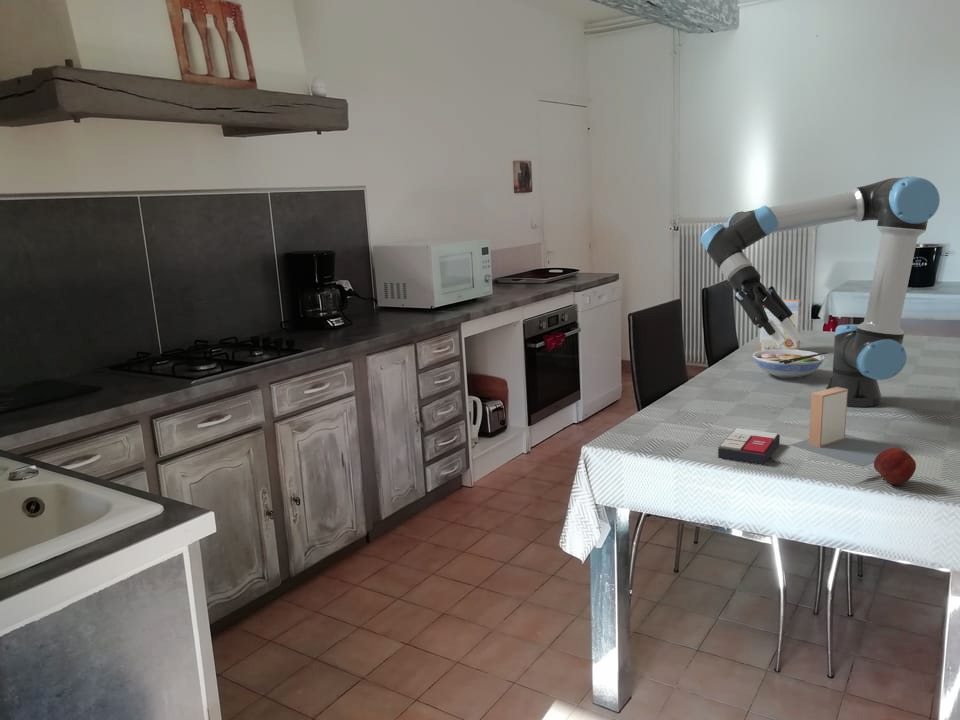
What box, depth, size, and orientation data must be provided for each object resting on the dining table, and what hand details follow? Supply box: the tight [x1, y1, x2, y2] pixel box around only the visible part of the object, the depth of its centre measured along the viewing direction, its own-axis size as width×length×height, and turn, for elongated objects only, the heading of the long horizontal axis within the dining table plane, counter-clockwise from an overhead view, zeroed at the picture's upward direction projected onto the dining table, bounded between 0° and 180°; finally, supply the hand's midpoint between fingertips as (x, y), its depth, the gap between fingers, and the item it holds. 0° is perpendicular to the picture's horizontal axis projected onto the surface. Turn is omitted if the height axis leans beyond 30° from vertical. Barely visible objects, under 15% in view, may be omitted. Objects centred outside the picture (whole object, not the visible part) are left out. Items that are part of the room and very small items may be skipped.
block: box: [808, 387, 848, 447], centre depth 186 cm, size 10×3×13 cm, turn 121°
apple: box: [873, 447, 917, 486], centre depth 162 cm, size 7×8×8 cm
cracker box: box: [758, 298, 803, 351], centre depth 294 cm, size 14×6×21 cm, turn 58°
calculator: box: [717, 427, 781, 466], centre depth 184 cm, size 11×4×15 cm
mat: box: [790, 433, 908, 467], centre depth 183 cm, size 18×19×1 cm
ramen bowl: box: [752, 349, 828, 380], centre depth 257 cm, size 25×23×8 cm
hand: (790, 341), depth 193 cm, fingers open, 6 cm apart
